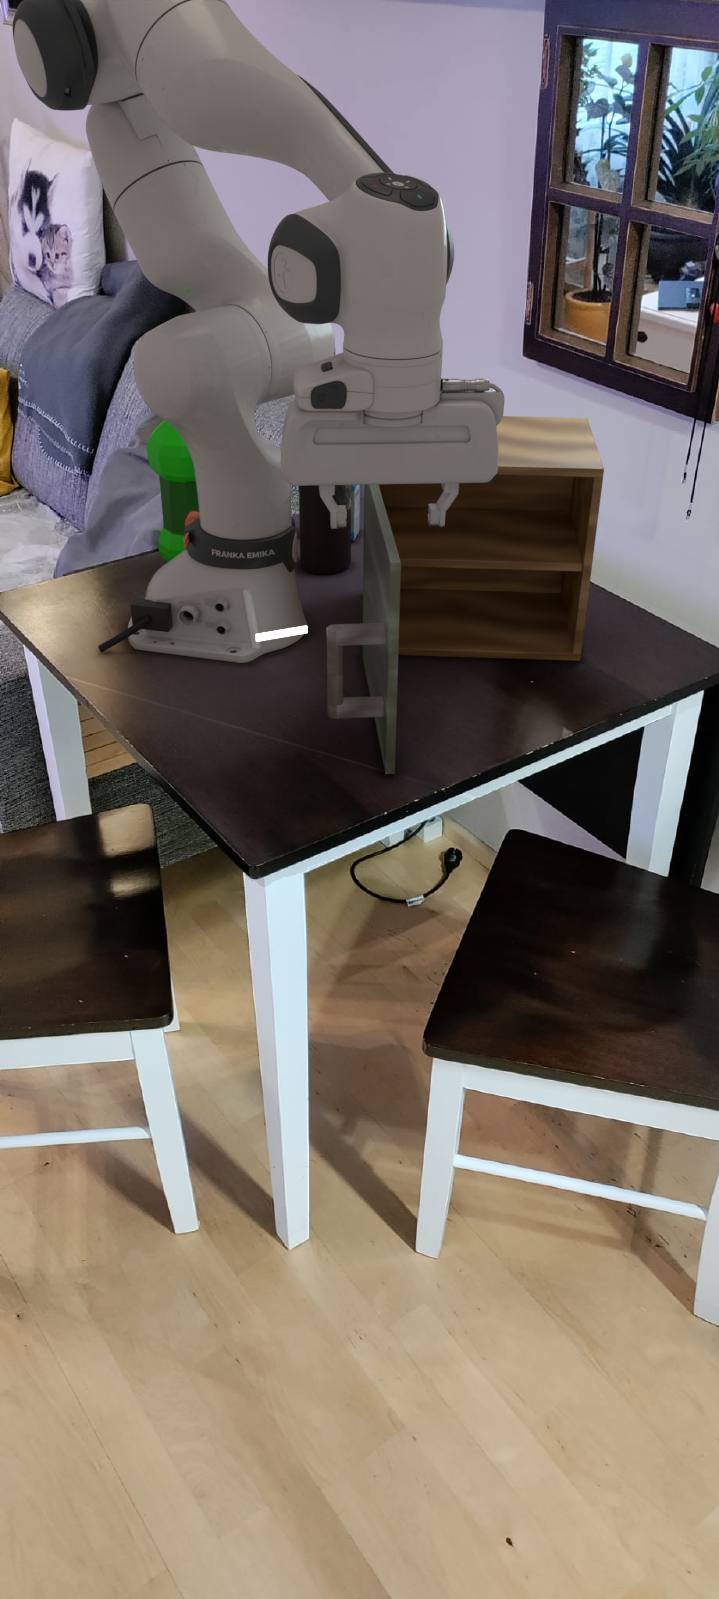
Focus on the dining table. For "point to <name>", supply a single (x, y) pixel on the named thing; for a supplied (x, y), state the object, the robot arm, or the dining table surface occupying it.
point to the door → (372, 632)
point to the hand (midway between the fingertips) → (387, 525)
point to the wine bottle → (323, 531)
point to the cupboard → (503, 549)
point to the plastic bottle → (173, 486)
